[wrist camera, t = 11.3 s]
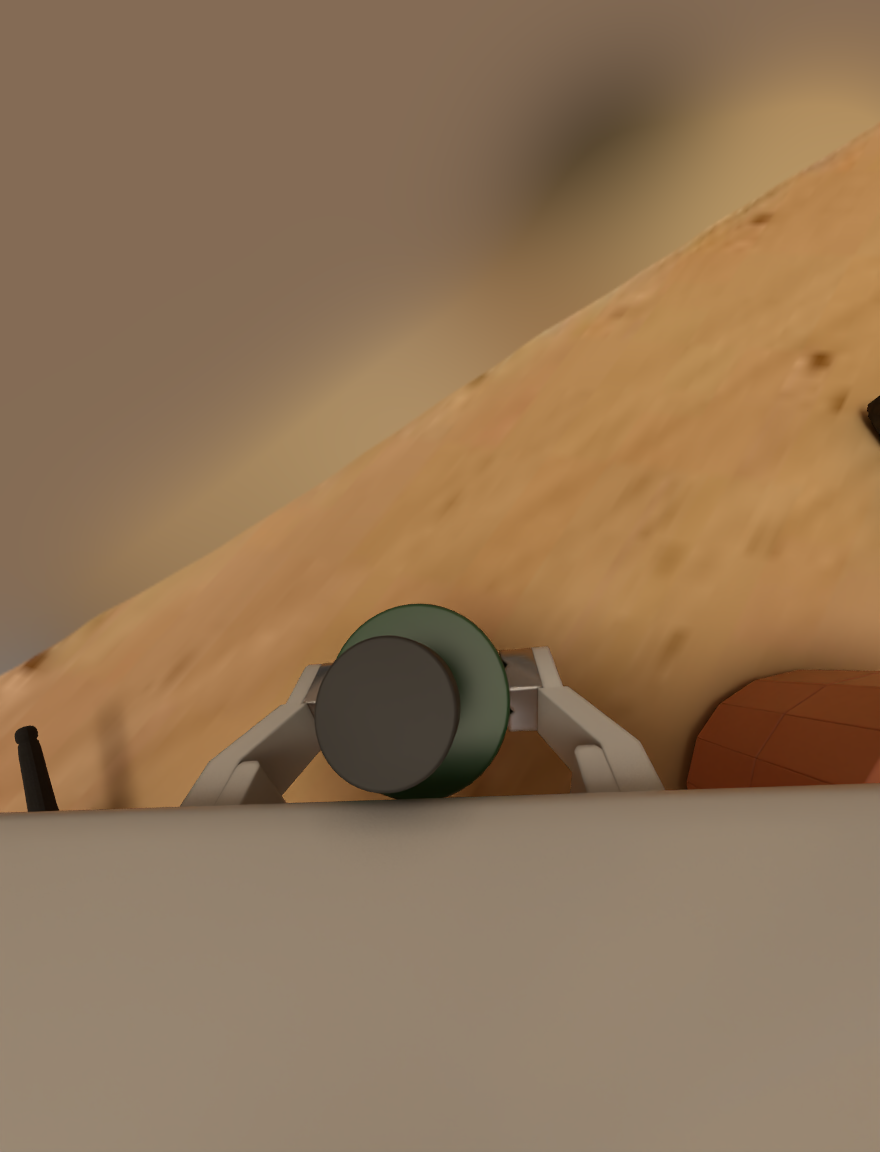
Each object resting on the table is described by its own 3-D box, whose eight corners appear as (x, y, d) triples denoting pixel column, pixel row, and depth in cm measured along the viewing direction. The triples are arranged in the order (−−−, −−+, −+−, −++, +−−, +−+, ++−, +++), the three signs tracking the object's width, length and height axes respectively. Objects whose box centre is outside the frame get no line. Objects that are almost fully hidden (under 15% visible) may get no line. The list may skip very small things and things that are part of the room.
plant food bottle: (515, 674, 17) (584, 694, 5) (455, 753, 16) (392, 956, 5) (443, 614, 18) (377, 530, 7) (384, 685, 17) (204, 724, 6)
